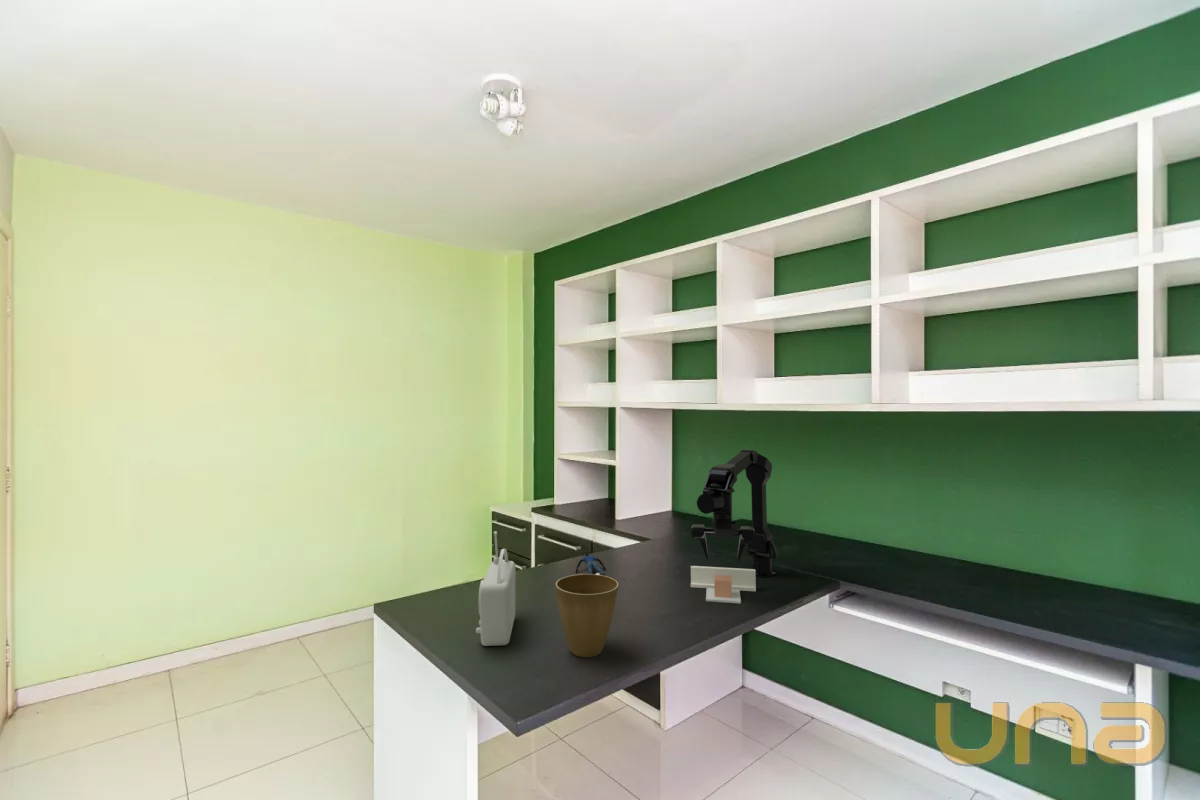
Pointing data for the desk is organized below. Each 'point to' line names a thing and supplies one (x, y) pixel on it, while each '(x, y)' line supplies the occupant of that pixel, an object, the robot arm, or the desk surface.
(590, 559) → the person figurine
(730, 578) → the plain cardboard-brown cube
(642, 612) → the desk surface
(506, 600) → the radio
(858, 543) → the desk surface
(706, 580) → the off-white ledge rack
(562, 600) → the plant pot
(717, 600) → the pad
